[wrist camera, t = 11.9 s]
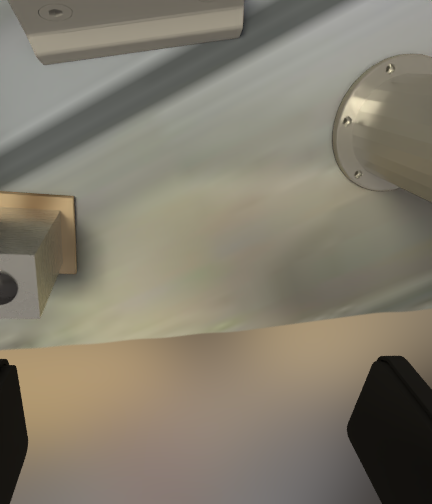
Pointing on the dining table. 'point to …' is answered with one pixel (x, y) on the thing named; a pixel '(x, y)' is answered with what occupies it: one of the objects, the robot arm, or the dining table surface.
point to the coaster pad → (66, 215)
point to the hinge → (123, 25)
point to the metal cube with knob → (28, 260)
